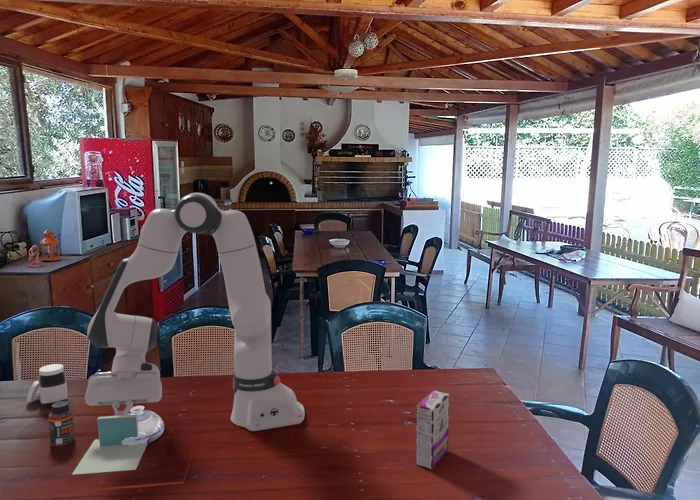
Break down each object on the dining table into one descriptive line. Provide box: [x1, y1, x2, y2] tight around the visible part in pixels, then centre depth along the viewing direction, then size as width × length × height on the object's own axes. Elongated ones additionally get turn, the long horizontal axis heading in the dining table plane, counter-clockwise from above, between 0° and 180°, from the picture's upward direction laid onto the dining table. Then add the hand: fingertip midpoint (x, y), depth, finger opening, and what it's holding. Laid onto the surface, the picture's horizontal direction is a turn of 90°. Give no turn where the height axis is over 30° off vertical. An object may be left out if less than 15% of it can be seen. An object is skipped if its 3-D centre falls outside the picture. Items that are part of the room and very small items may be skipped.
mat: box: [71, 438, 149, 476], centre depth 136 cm, size 15×17×1 cm
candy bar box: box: [415, 389, 450, 470], centre depth 135 cm, size 11×5×16 cm, turn 148°
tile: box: [97, 414, 140, 446], centre depth 140 cm, size 10×1×8 cm, turn 99°
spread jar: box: [26, 363, 68, 407], centre depth 167 cm, size 12×11×12 cm
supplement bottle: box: [48, 400, 76, 448], centre depth 142 cm, size 6×6×11 cm
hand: (120, 418), depth 142 cm, fingers closed
